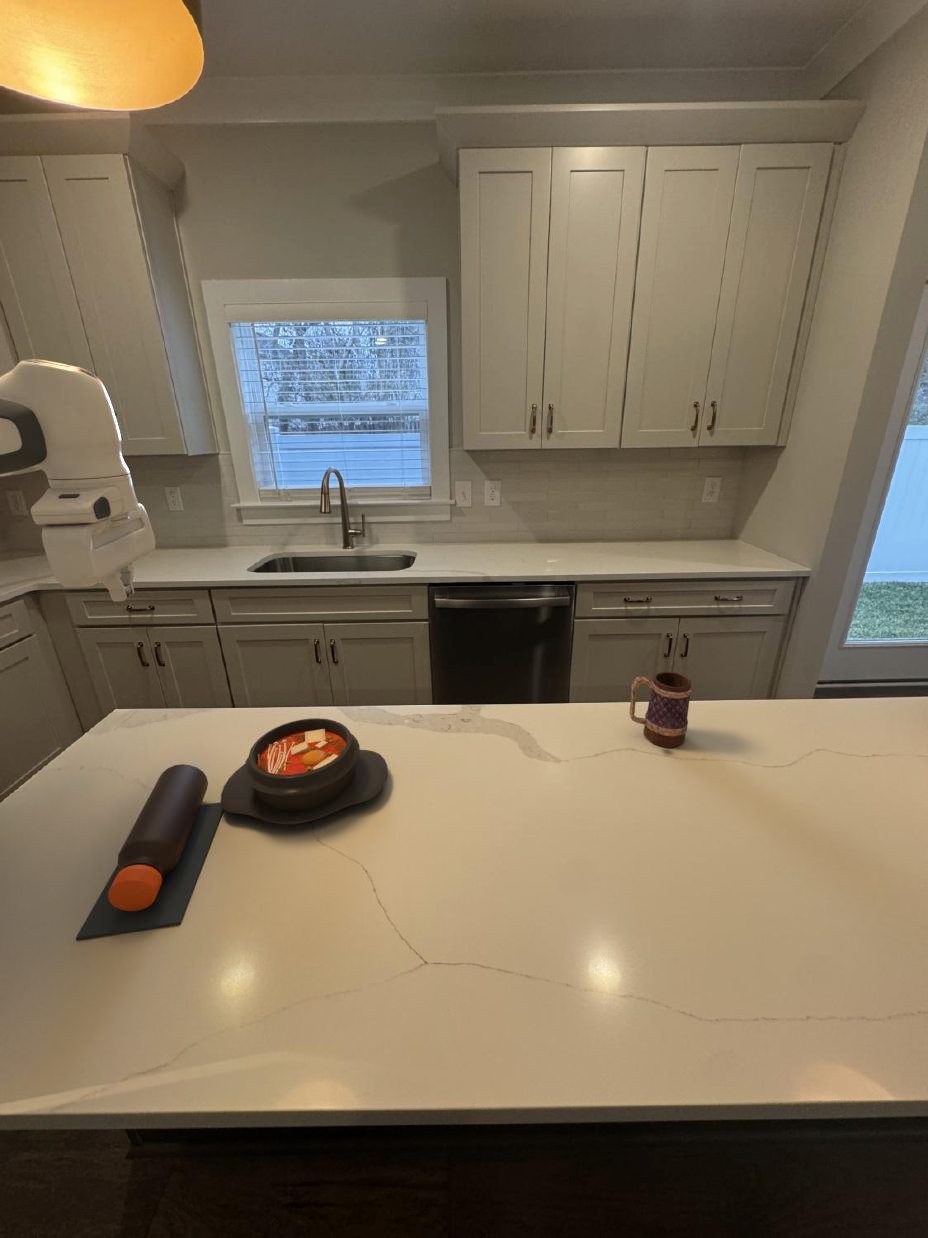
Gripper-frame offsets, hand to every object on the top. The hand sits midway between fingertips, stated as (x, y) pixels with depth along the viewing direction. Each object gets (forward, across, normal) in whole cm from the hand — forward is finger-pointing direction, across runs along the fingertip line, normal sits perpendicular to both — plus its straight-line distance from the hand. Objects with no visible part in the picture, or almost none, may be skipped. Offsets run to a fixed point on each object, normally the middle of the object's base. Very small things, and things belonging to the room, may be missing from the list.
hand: (124, 598), depth 72 cm
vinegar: (+27, +6, +5) cm, 28 cm away
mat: (+31, +18, +5) cm, 36 cm away
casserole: (+31, +7, +22) cm, 39 cm away
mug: (+31, +3, +82) cm, 88 cm away
